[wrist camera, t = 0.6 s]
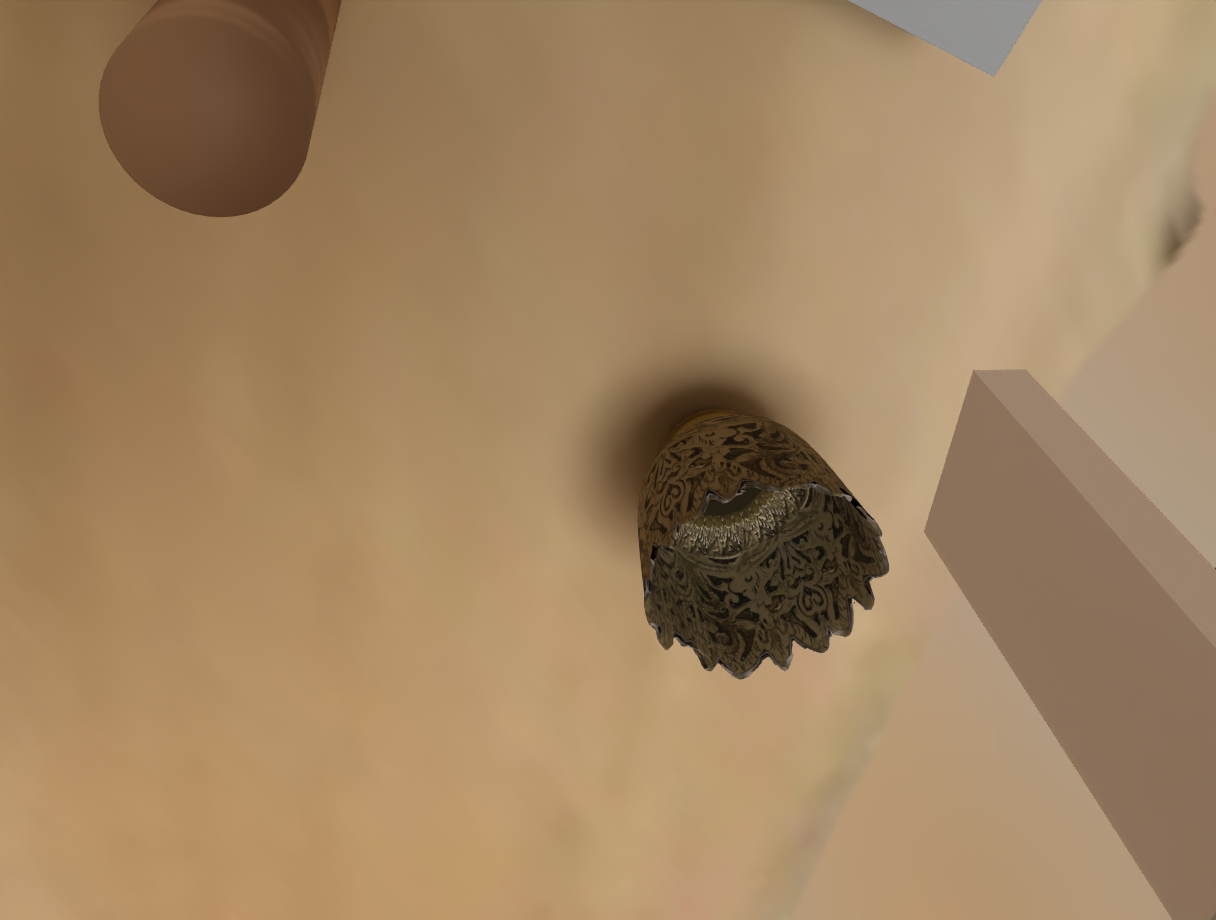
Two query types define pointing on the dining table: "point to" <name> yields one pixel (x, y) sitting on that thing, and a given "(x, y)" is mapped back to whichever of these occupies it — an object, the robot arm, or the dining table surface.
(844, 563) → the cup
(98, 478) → the dining table surface
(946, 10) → the socket block
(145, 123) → the walnut peg
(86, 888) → the dining table surface
